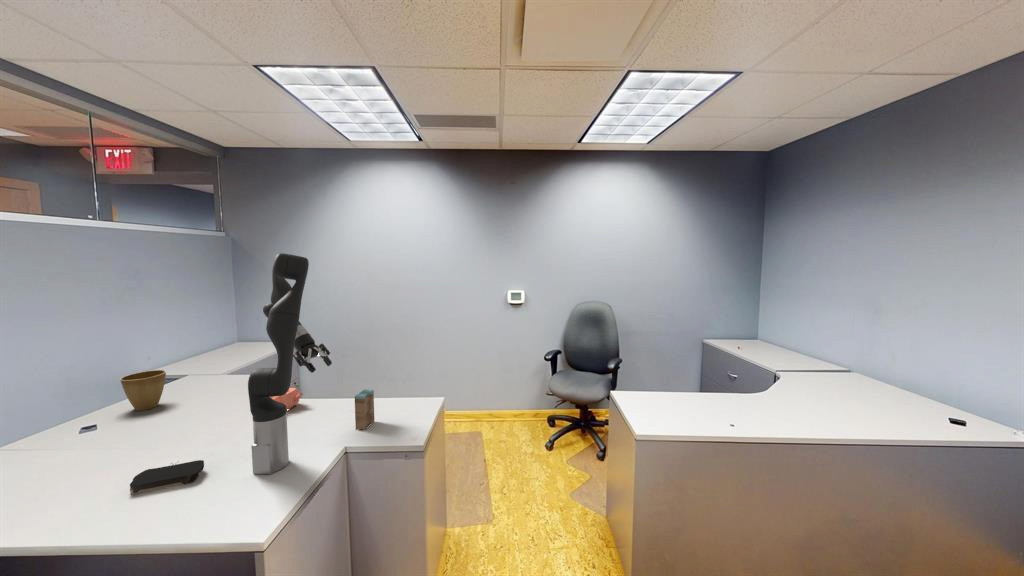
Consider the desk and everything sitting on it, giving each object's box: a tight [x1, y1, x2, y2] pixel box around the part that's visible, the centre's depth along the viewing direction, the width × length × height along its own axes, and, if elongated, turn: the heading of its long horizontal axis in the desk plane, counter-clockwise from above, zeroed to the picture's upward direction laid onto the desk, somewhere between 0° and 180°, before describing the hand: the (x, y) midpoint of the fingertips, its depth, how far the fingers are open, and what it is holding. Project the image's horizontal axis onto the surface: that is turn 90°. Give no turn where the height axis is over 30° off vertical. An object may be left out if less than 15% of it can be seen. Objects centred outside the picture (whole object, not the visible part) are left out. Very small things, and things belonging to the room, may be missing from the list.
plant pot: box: [119, 369, 167, 411], centre depth 164 cm, size 15×15×16 cm
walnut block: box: [354, 389, 375, 431], centre depth 145 cm, size 8×4×14 cm, turn 175°
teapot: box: [270, 387, 304, 410], centre depth 163 cm, size 12×12×10 cm
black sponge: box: [129, 459, 205, 495], centre depth 107 cm, size 16×8×4 cm, turn 112°
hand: (322, 368), depth 146 cm, fingers open, 8 cm apart
